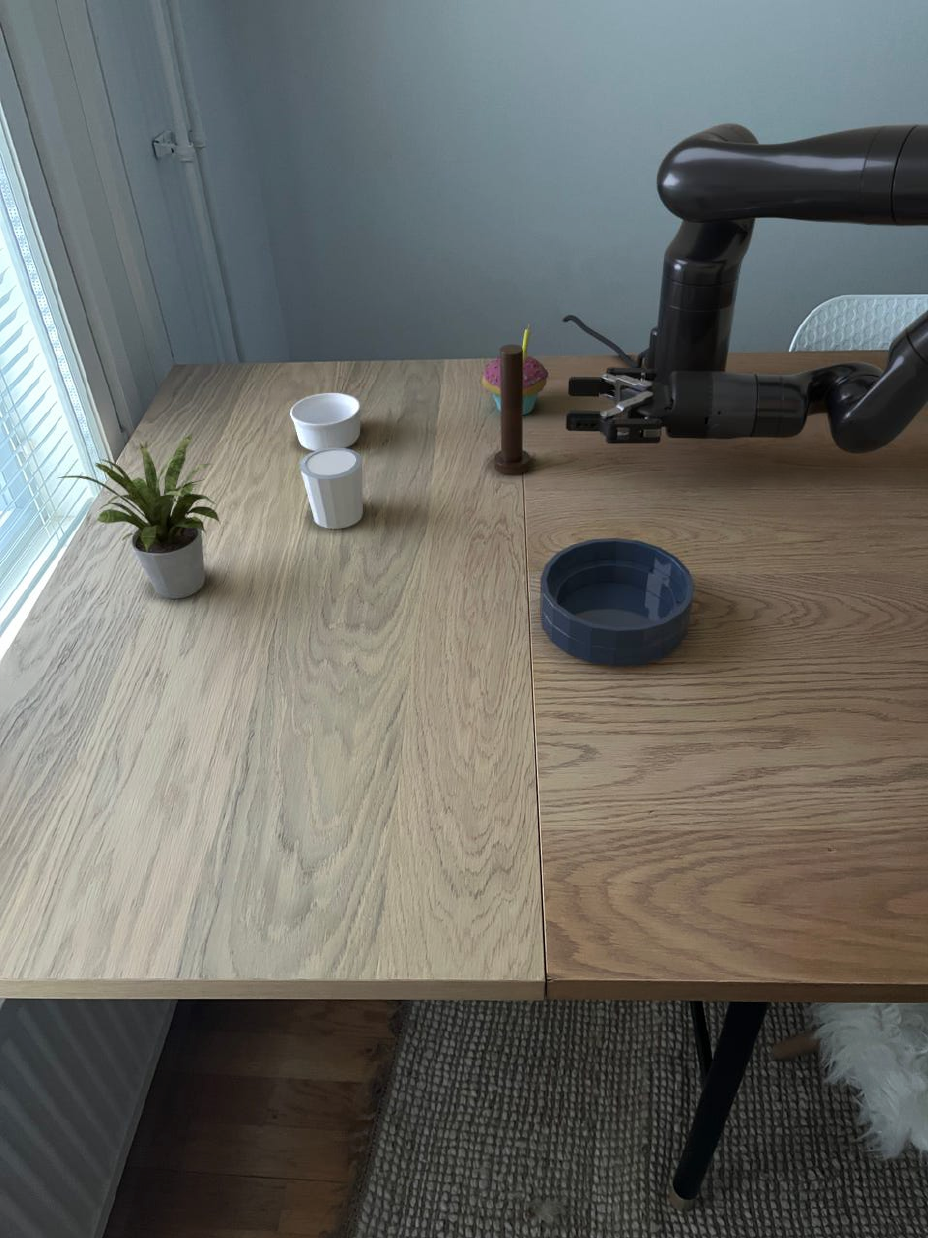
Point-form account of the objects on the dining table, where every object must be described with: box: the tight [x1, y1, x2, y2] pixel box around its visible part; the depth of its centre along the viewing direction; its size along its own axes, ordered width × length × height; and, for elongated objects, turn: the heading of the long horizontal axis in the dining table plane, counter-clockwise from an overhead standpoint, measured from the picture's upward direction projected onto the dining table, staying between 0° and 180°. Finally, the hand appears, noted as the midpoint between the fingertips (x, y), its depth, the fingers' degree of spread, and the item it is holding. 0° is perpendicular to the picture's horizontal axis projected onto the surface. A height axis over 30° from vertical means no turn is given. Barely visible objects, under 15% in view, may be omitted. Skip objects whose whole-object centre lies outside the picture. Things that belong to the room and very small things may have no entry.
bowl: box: [539, 537, 696, 668], centre depth 91 cm, size 14×14×5 cm
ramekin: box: [289, 392, 361, 452], centre depth 121 cm, size 9×9×4 cm
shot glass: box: [299, 447, 364, 530], centre depth 106 cm, size 7×7×7 cm
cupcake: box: [482, 323, 549, 416], centre depth 123 cm, size 9×8×12 cm
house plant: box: [58, 432, 221, 600], centre depth 94 cm, size 14×14×16 cm
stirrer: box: [493, 343, 531, 476], centre depth 111 cm, size 4×4×15 cm
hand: (567, 403), depth 110 cm, fingers open, 8 cm apart
